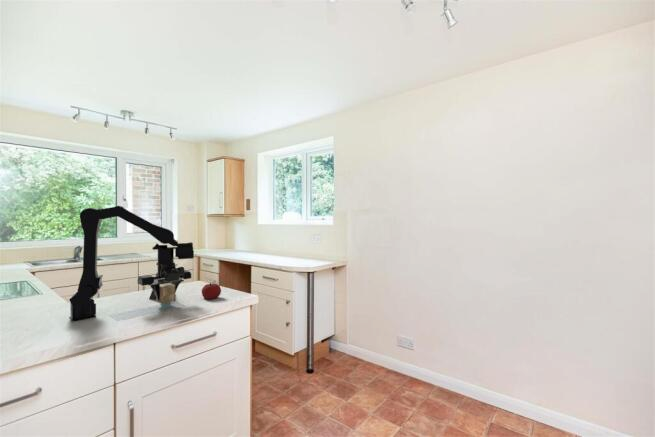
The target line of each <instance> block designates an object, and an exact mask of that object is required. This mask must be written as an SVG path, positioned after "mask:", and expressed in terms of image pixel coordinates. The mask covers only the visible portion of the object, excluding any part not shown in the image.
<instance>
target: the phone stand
mask: <svg viewBox="0 0 655 437" xmlns="http://www.w3.org/2000/svg"><path fill="white" fill-rule="evenodd" d="M155 276H157V275H156V274H155ZM167 283H171V281H170V282H168V281H166V280H161V281H158V284H167ZM150 292H151V293H150V296H149V298H148V299H149V300H156V296H155V294H154V291H153V289H151V291H150ZM175 297H176V294H175Z"/></svg>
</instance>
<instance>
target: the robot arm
mask: <svg viewBox="0 0 655 437" xmlns="http://www.w3.org/2000/svg"><path fill="white" fill-rule="evenodd" d="M117 217H118V218H120V219H122V220H123V221H126V222H128V223H129V224H132V225H134V226H135V227H137V228H138V229H141V230H143V231H144V232H147V233H148V234H149V235H150V236H152V237H153V239H156V240H157V241H158V242H160V243H161V244H159V243H158V242H157V243H155V245H154V246H152V248H151V249H152V250H154V251H155V250H156V251H157V262H156V266H157V272H156V274H155V276H152V275H149V274H147V275H139V276H138V278H137V285H141V286H150V288H151V290H153V291H154V294H155V296H156V298H157V300H159V298H160V293H159V286H160V284H158V281H161V280H166V281H168V282H170V281H171V284H174V285H175V294H176V293H177V289H178V288H179V285H180V284H181V283H183V282H184V281H185V280H188V279H192V272H191V271H188V270H185V267H184V266H179V267H178V266H177V267H176V262H174V261H175V260H174V257H175V258H177V259H178V260H191V259H194V256H195V255H194V254H195V251H194V245H193V244H194V243H193V242H192V241H191V242H182V243H181V242H178V240H176V239H175V234H174V232H173V231H172V230H170V229H169V228H165V227H164V226H163V227H162V226H160V225H157V224H153V222H150V221H148V220H146V219H144V218H142V217H140V216H139V215H137V214H135V213H133V212H132V211H130V210H127V209H126V208H125V207H124V206H121V205H117V206H112V207H106V208H99V209H97V208H94V207H93V208H92V207H89V208H84V209H83V210H81V212H80V213H79V221H80V225H81V228H82V231H83V253H82V254H83V255H82V256H83V257H82V258H83V261H82V274H81V277H80V279H79V283H78V287H77V292H76V293H75V294H73V295H72V296H71V297H70V298H69V300H68V301H69V302H70V304H69V306H70V307H69V308H70V310H69V311H70V316H69V317H68V318H69V319H70V321H72V322H79V321H83V320H88V319H89V320H90V319H93V318H96V315H97V303H95V299H94V298H93V297H94V296H96V295H97V294H98V292H99V290H100V289H101V288H102V287H103V282H102V281H103V280H102V279H103V274H100V275H99V273H98V271H97V270H98V268H97V265H98V244H99V243H98V238H99V237H98V236H99V230H100V227H101V225H102V221H103V220H105V219H111V218H117ZM168 245H170V246H168ZM174 250H175V251H174ZM174 254H175V255H174ZM156 275H157V276H156ZM156 298H155V299H156Z"/></svg>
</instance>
